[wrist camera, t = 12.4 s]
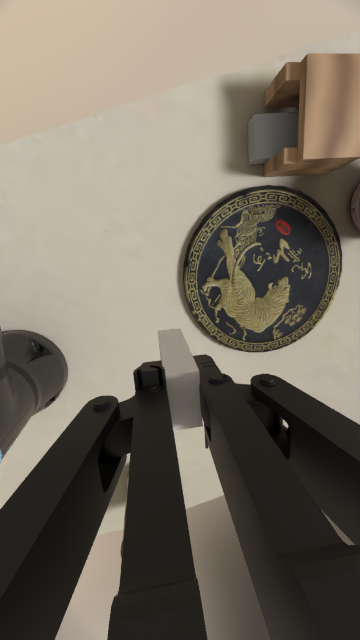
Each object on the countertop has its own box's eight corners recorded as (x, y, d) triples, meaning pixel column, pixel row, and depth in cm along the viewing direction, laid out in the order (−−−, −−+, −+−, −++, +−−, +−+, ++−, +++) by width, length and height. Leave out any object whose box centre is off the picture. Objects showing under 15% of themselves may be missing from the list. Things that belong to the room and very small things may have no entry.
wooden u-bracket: (264, 177, 43) (289, 159, 35) (264, 92, 40) (292, 53, 32) (324, 173, 44) (362, 156, 37) (329, 91, 41) (372, 53, 34)
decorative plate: (270, 141, 41) (374, 268, 48) (264, 145, 42) (366, 267, 50) (148, 284, 44) (263, 382, 51) (148, 283, 46) (259, 378, 53)
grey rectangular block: (247, 165, 43) (255, 158, 40) (246, 124, 41) (254, 114, 38) (304, 161, 44) (315, 154, 41) (304, 120, 42) (316, 110, 39)
